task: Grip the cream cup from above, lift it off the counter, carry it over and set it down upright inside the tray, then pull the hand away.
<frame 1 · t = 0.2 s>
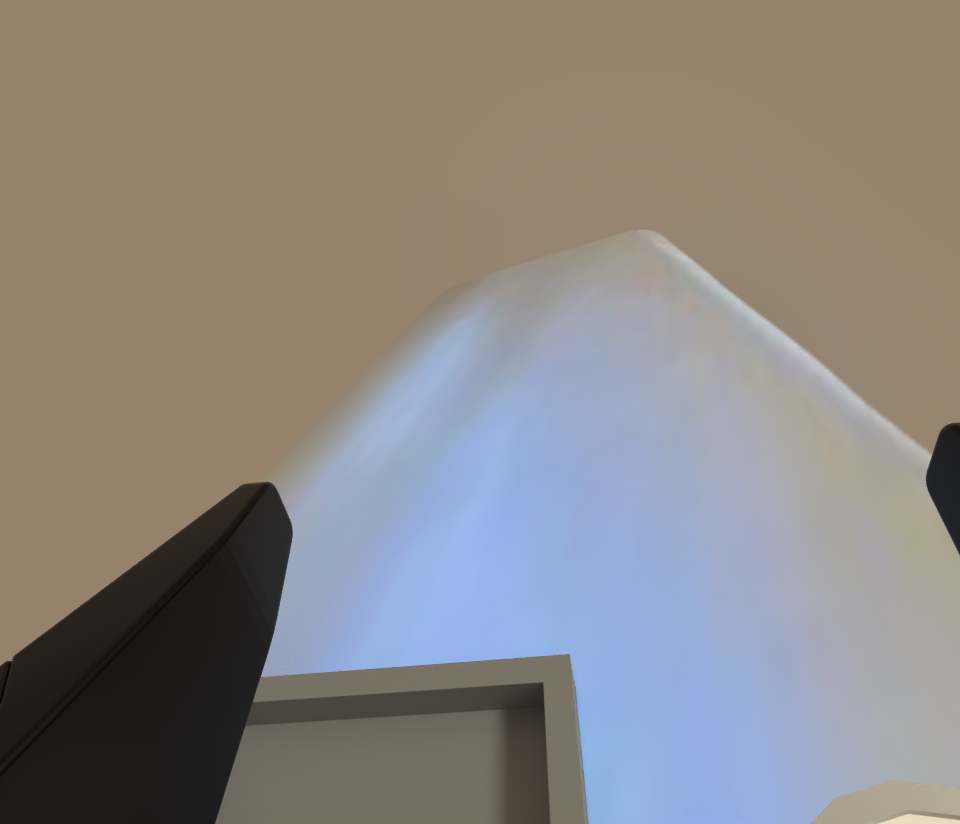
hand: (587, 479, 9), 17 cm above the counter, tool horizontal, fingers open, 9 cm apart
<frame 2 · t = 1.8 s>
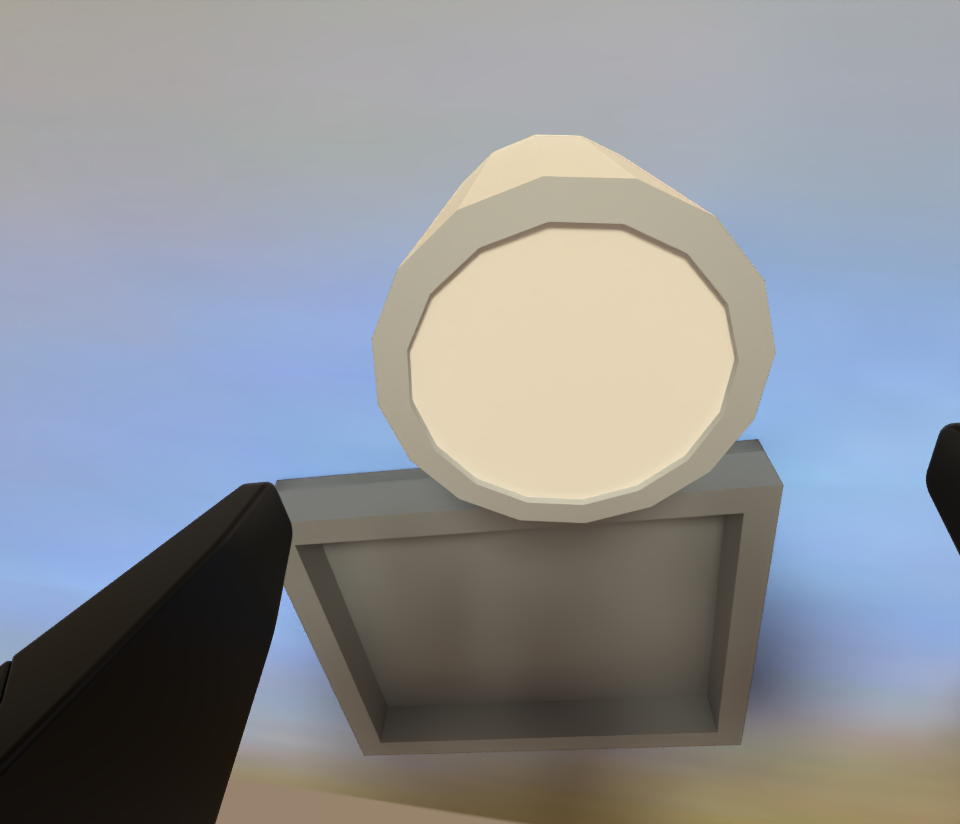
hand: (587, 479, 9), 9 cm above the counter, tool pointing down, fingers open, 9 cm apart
tray: (528, 600, 24), on the counter
cream cup: (549, 244, 17), on the counter
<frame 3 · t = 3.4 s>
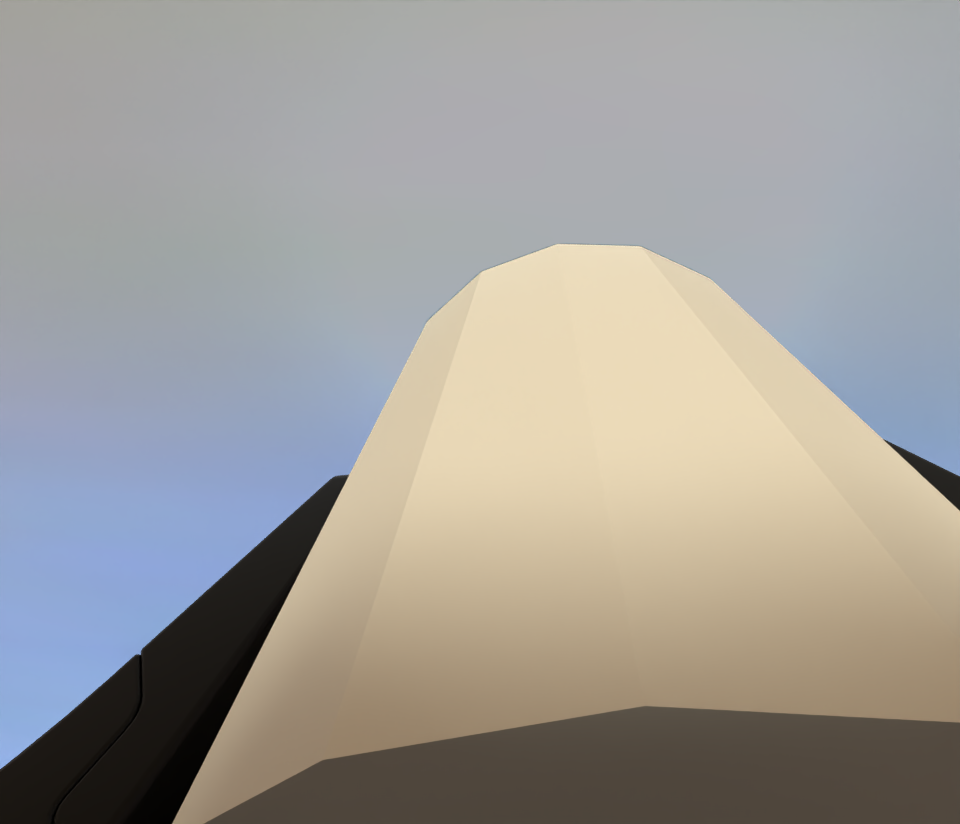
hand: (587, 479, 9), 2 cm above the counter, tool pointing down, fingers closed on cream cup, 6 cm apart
cream cup: (576, 409, 10), on the counter, touching gripper
when the fingers open (3 cm above the counter, at t = 8.7 s): cream cup drops 1 cm, resting on tray.
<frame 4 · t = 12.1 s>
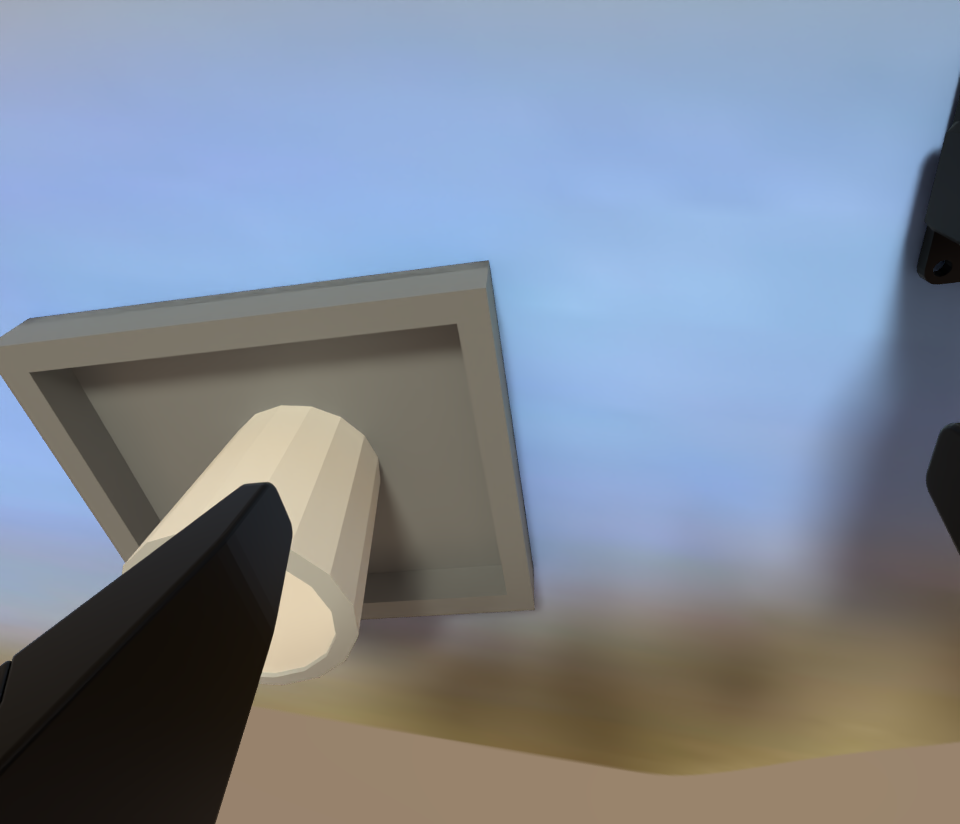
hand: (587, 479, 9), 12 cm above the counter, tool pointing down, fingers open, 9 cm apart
tray: (310, 458, 24), on the counter
cream cup: (308, 463, 24), resting on tray
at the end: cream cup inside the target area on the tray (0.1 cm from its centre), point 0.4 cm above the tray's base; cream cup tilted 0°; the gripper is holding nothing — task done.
